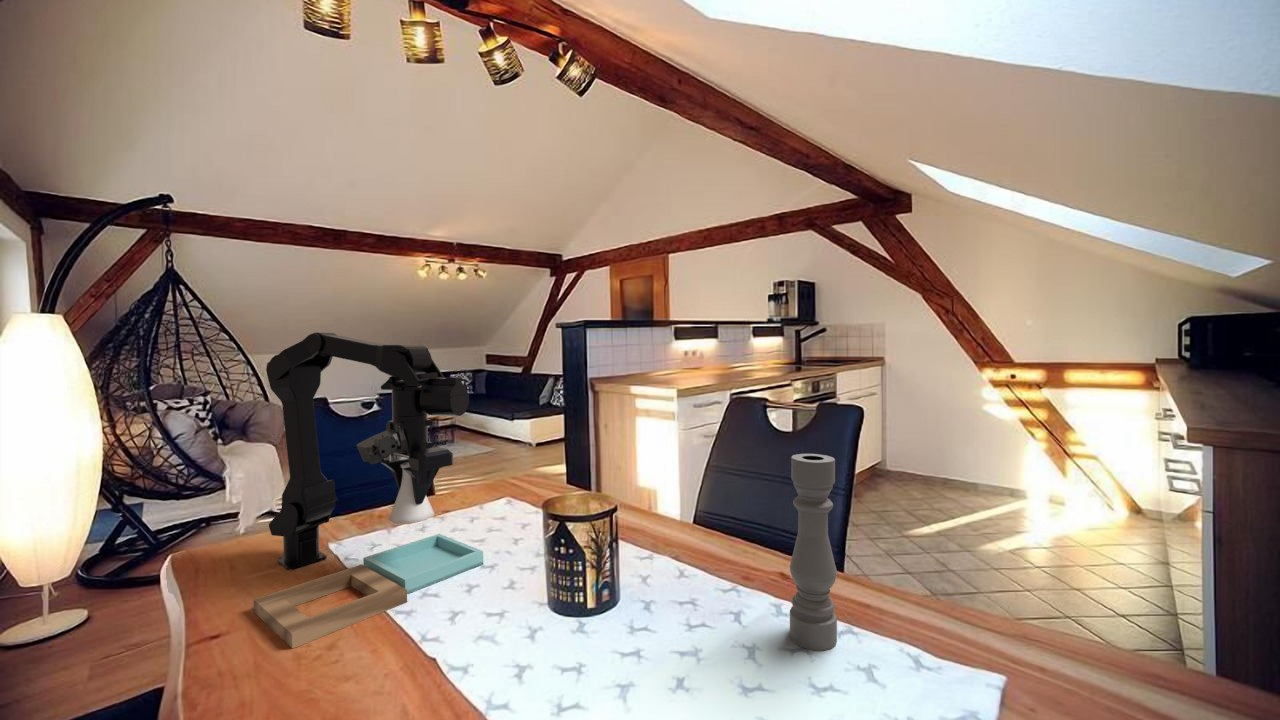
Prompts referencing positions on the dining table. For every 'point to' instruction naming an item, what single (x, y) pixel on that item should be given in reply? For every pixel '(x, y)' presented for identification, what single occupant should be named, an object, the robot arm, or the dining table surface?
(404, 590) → the frame
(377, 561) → the teal tray
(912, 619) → the dining table surface
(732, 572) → the dining table surface
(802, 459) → the candle holder
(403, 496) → the flask
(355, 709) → the dining table surface
